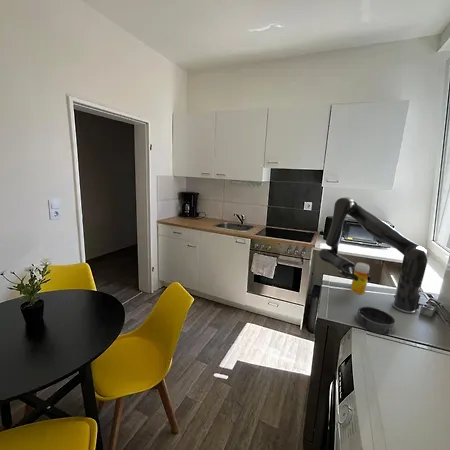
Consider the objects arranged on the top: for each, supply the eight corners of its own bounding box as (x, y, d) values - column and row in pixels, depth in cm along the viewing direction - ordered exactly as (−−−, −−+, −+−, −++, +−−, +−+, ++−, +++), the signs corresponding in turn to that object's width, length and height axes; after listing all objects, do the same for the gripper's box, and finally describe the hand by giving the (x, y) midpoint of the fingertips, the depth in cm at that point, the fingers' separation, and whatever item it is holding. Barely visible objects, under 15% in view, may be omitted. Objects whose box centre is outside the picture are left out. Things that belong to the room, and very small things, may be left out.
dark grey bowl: (377, 314, 120) (378, 306, 119) (401, 333, 106) (403, 324, 105) (349, 314, 118) (351, 306, 117) (370, 334, 104) (372, 325, 103)
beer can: (363, 296, 118) (369, 268, 114) (349, 292, 121) (354, 264, 118) (365, 292, 122) (370, 264, 119) (351, 288, 126) (357, 261, 123)
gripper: (332, 258, 132) (351, 271, 116) (357, 259, 134) (379, 271, 118) (330, 271, 134) (348, 286, 118) (354, 271, 135) (376, 286, 119)
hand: (363, 279), depth 118 cm, fingers closed on beer can, 6 cm apart
